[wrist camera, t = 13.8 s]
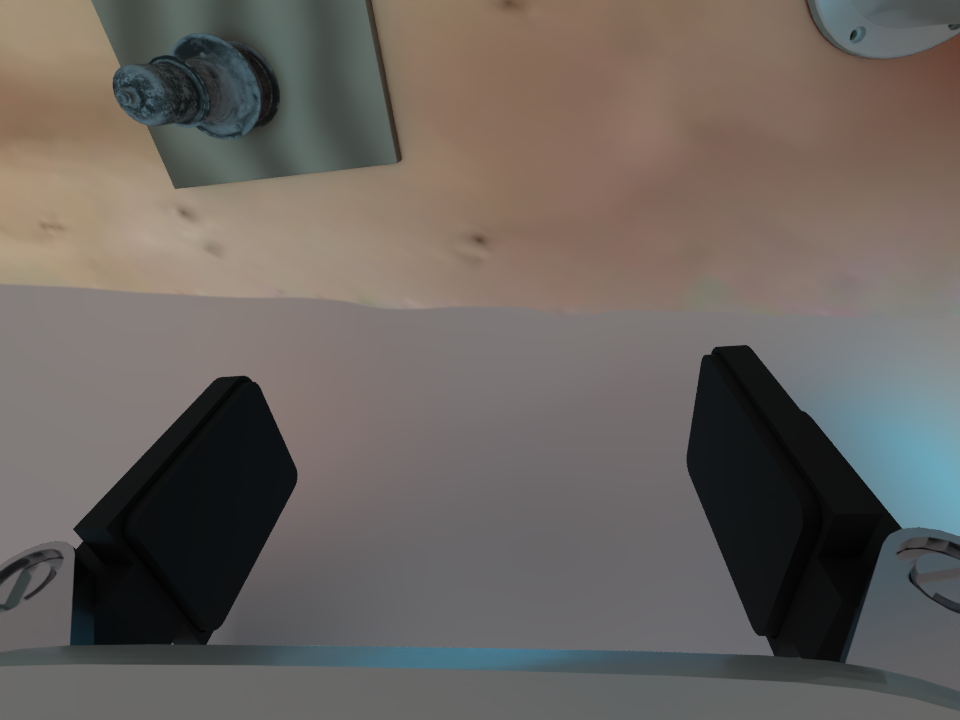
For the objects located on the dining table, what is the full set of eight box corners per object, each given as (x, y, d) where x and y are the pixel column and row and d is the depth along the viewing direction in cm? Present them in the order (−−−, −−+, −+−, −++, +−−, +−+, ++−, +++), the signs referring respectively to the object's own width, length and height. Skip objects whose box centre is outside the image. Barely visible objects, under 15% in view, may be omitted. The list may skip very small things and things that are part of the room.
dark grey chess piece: (266, 150, 35) (163, 187, 25) (189, 98, 33) (45, 114, 23) (297, 74, 32) (195, 81, 22) (214, 13, 31) (63, -10, 21)
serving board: (354, -86, 29) (346, -93, 27) (401, 159, 36) (397, 163, 35) (91, -38, 31) (73, -42, 30) (186, 184, 38) (175, 188, 37)
